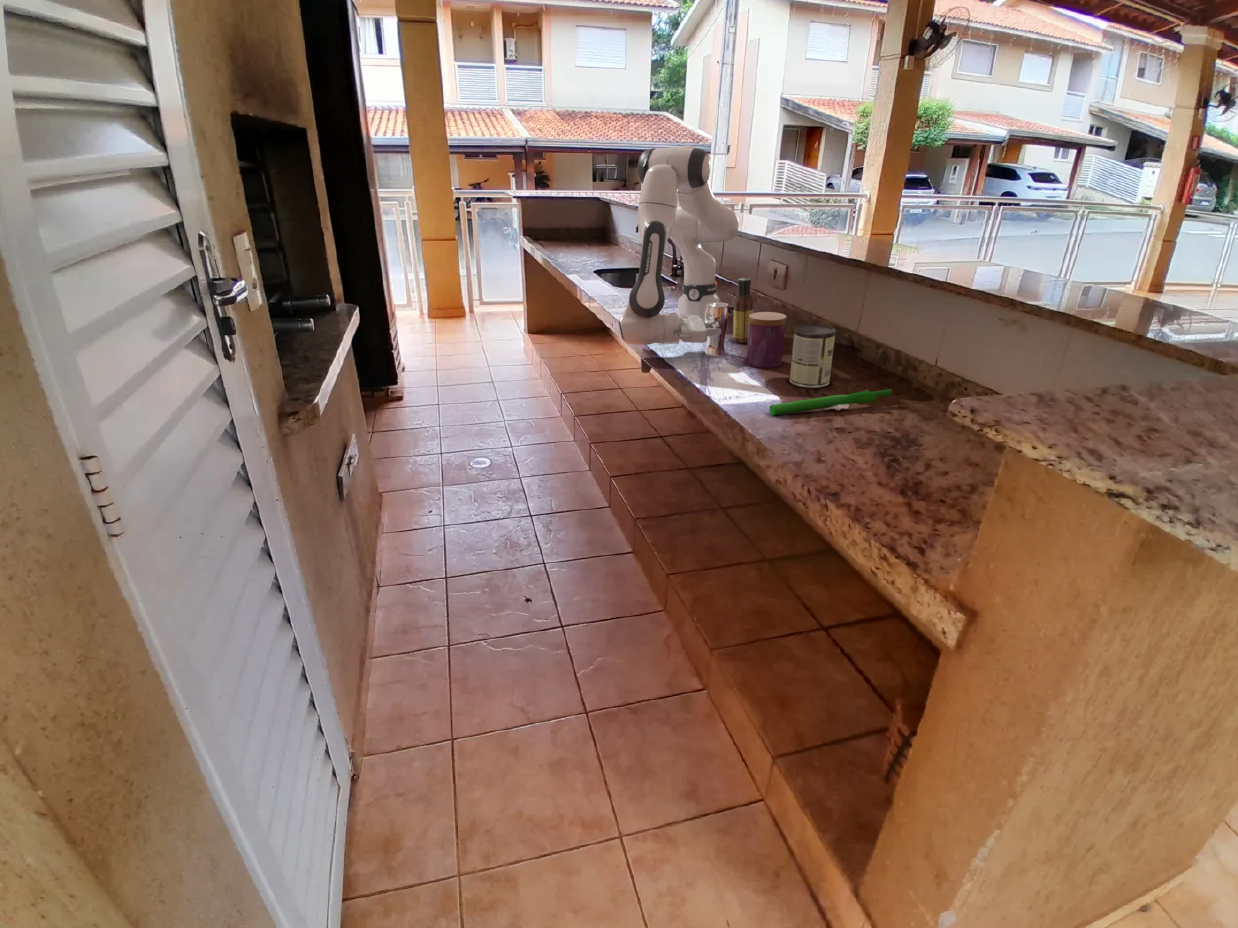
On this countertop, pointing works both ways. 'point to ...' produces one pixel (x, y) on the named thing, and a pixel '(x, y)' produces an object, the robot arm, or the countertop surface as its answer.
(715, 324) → the metal cocktail shaker
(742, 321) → the sauce bottle
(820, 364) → the coffee can
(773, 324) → the jar
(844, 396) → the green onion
